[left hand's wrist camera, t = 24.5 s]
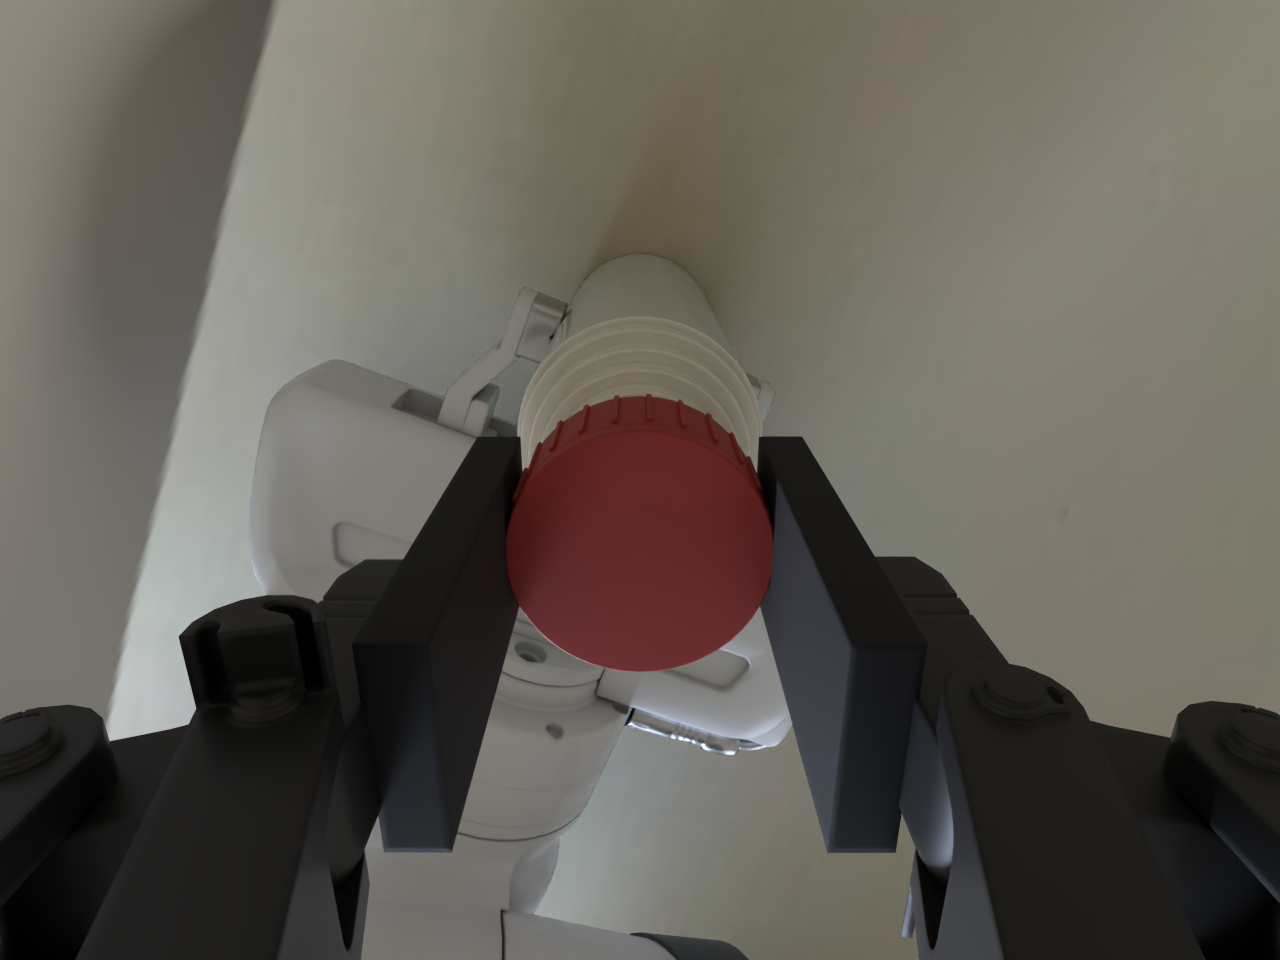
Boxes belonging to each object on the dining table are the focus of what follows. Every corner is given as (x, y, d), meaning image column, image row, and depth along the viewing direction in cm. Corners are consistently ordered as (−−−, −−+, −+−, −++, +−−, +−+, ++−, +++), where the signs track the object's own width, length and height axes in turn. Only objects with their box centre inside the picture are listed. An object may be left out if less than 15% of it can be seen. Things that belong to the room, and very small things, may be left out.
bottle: (547, 281, 30) (417, 435, 13) (687, 233, 29) (757, 324, 12) (596, 415, 32) (543, 710, 14) (728, 372, 31) (841, 628, 14)
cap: (509, 600, 15) (491, 659, 13) (528, 375, 13) (511, 408, 12) (737, 627, 15) (750, 689, 13) (782, 408, 14) (805, 446, 12)
